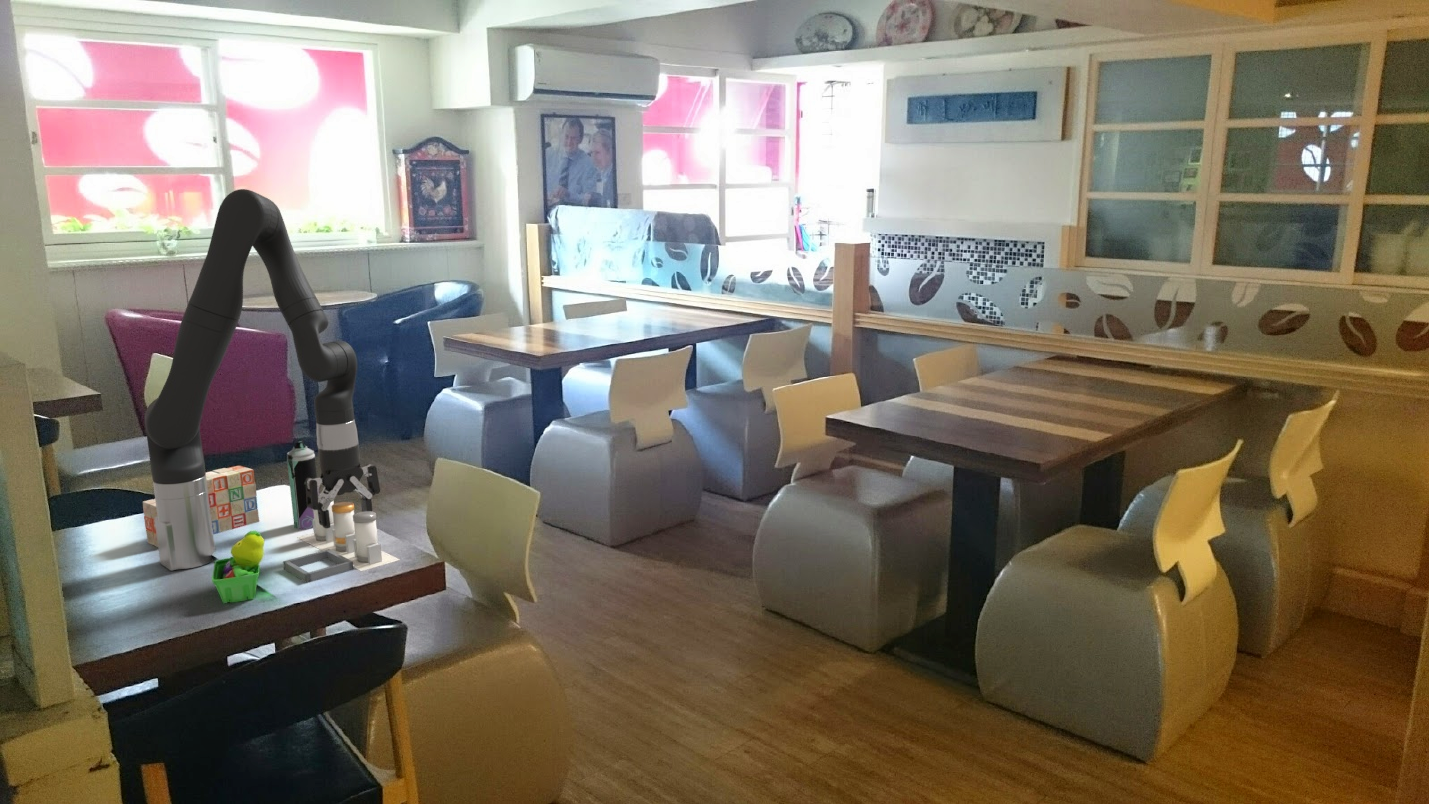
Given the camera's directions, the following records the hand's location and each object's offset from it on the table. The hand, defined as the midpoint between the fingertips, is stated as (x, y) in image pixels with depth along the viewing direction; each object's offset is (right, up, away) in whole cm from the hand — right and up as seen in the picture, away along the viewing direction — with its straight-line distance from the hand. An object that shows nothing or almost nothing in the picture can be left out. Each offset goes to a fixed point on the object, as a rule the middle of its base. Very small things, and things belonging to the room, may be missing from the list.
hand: (346, 521), depth 204 cm
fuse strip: (0, -7, +1) cm, 7 cm away
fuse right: (+6, -7, -6) cm, 11 cm away
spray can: (-14, -4, +15) cm, 21 cm away
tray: (-1, -9, -10) cm, 14 cm away
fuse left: (-7, -4, +7) cm, 10 cm away
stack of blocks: (-36, -4, +16) cm, 40 cm away
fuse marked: (0, -5, 0) cm, 5 cm away
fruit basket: (-13, -11, -17) cm, 24 cm away
